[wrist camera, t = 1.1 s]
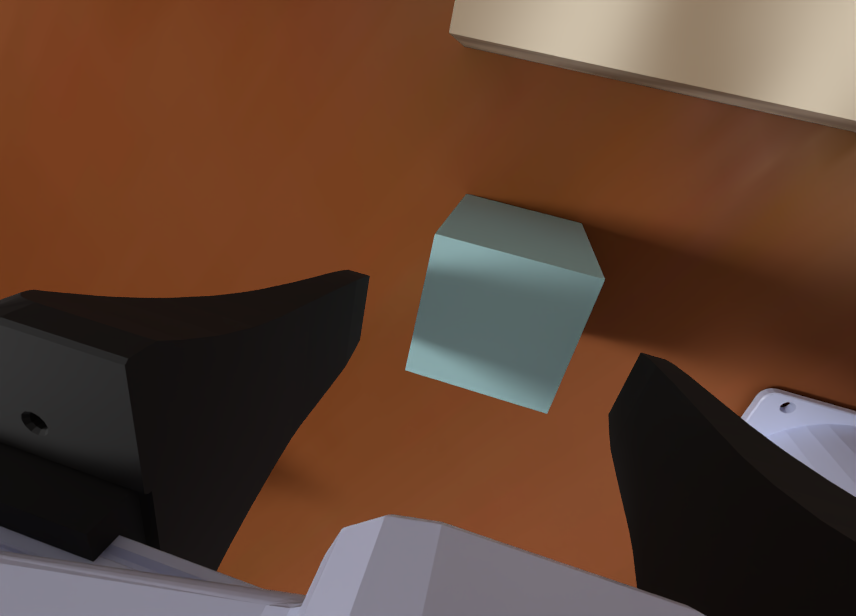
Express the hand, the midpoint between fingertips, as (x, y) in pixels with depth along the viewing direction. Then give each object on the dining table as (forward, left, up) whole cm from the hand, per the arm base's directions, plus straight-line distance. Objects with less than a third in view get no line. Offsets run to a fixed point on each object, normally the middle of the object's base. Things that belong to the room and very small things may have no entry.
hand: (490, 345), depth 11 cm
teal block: (0, 0, -7) cm, 7 cm away
